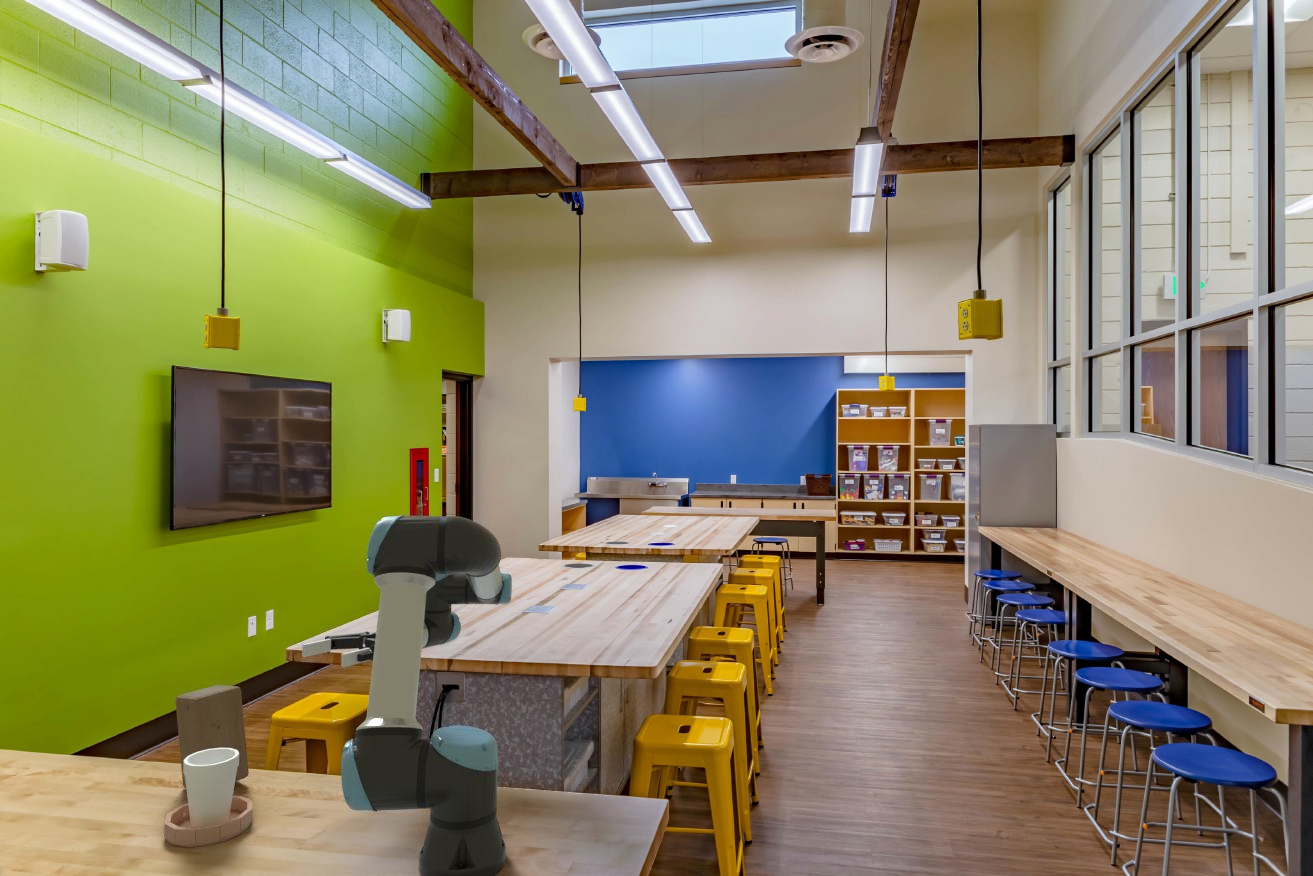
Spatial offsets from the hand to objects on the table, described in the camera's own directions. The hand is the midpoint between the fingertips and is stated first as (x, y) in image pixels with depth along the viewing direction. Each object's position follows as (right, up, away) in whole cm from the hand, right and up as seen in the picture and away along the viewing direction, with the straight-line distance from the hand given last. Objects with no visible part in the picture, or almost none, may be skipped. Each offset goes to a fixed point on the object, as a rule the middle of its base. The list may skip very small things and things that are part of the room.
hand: (322, 655), depth 169 cm
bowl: (-16, -29, -15) cm, 37 cm away
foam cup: (-16, -29, -15) cm, 36 cm away
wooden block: (-25, -29, +4) cm, 38 cm away
